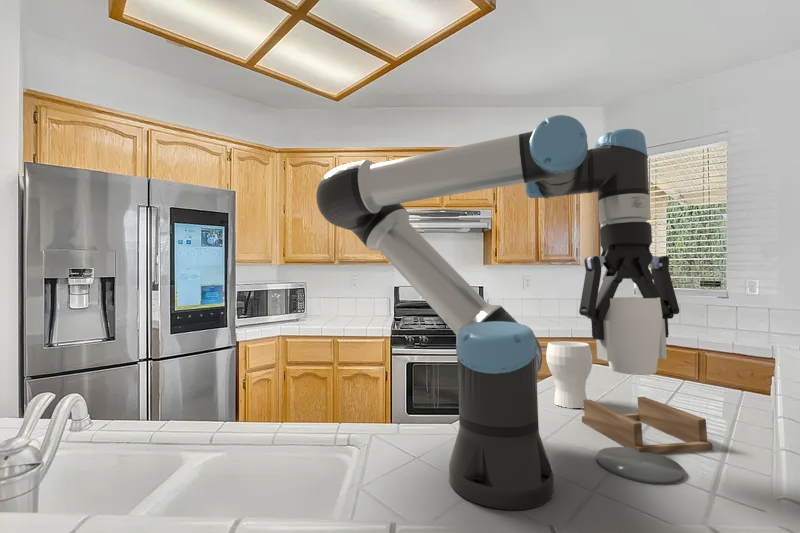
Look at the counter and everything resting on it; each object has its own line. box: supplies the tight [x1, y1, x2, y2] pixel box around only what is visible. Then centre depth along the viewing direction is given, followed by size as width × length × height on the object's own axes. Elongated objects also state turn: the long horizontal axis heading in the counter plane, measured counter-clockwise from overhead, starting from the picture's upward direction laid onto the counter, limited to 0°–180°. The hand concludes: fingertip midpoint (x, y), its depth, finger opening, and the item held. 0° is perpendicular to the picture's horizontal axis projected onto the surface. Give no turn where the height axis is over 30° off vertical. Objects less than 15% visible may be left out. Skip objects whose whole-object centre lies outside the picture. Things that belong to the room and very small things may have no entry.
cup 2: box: [604, 296, 662, 376], centre depth 63 cm, size 9×9×12 cm
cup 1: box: [545, 340, 593, 409], centre depth 96 cm, size 11×11×15 cm
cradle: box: [581, 396, 714, 455], centre depth 75 cm, size 14×17×5 cm
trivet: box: [596, 446, 685, 485], centre depth 62 cm, size 12×12×1 cm
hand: (631, 358), depth 63 cm, fingers closed on cup 2, 9 cm apart
